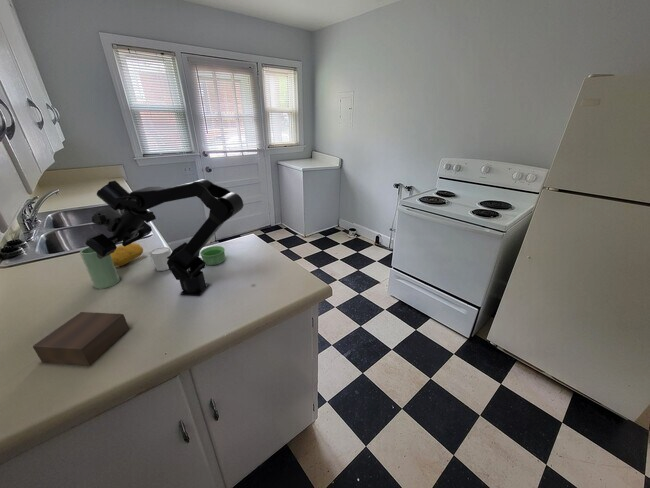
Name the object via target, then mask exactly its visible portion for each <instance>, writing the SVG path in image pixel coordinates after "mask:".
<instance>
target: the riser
mask: <svg viewBox="0 0 650 488" xmlns="http://www.w3.org/2000/svg"><path fill="white" fill-rule="evenodd" d="M127 322H128V321H127V319H126V318H125V315H124V313H113V312H112V313H109V312H93V311H92V312H89V311H80V312H79V313H77V314H76V315H75V316H73V317H72V318H70V319H69V320H67V321H66V322H64V323H63V324H61V325H60V326H59V327H57V328H56V329H54V330H53V331H52V332H50V333H49V334H48V335H46V336H44V337H43V338H41V340H39V341H37V342H36V343H34V344H33V345H32V348H33V350H34V351H35V353H36V356H38V358H39V360H40V361H41V363H43V364H45V363H47V364H58V365H75V366H91V365H92V364H94V363H95V361H97V360H98V359H100V357H101V356H102V355H103V354H104V353H105V352H107V351H108V350H109V348H111V347H112V346H113V345H114V344H115V343H116V342H117V341H118V340H119V339H121V337H123V335H125V333H127V332H128V331H129V330H130V327H129V325H128V323H127Z"/></svg>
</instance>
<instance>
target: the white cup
mask: <svg viewBox="0 0 650 488" xmlns="http://www.w3.org/2000/svg"><path fill="white" fill-rule="evenodd" d="M171 253H172V251H171V247H168V246H163V247H158V248H154V249H152V250H150V251H149V256H150V258H151V260H152V262H153V265H154V267H155V270H156V271H158V272H164V271H167V270H170V269H169V267H168V265H167V261H168V259H167V257H168V256H170V255H171Z"/></svg>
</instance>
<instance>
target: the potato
mask: <svg viewBox="0 0 650 488" xmlns="http://www.w3.org/2000/svg"><path fill="white" fill-rule="evenodd" d="M116 247H117V248H116V250H115V251H114V252H113V253H111V254H110V255H111V258H112V260H113V263H114V266H115V267H121V266H122V267H123V266H124V265H127V264H129V263H130V262H132V261H134V260H135V259H137V258H139V257H140V256H141V255H142V254H143V253H144V247H143V246H142V245H140V244H139V243H135V242H133V243H131V244H129V245H127V246H125V247H124V246H123V245H122V244H121V245H118V246H116Z"/></svg>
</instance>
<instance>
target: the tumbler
mask: <svg viewBox="0 0 650 488" xmlns="http://www.w3.org/2000/svg"><path fill="white" fill-rule="evenodd" d="M79 254H80V256H81V259H82V261H83V264H84V266H85V268H86V270H87V273H88V275H89V277H90V280H91V282H92V284H93V287H94V288H95V289H99V290H102V289H106V288H111V287H112V286H115V285H116V284H118V283H119V282H120V281H121V280H120V276H119V274H118V271H117V269H116V266H114V263H113V260H112V258H111V255H108V256H106V257H103V258H101V259H99V258H98V257H97V253H96V252H95V251H94V250H93V249H91V248H90V247H89V246H87V247H84V248H83V249H81V250H80V251H79Z"/></svg>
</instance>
